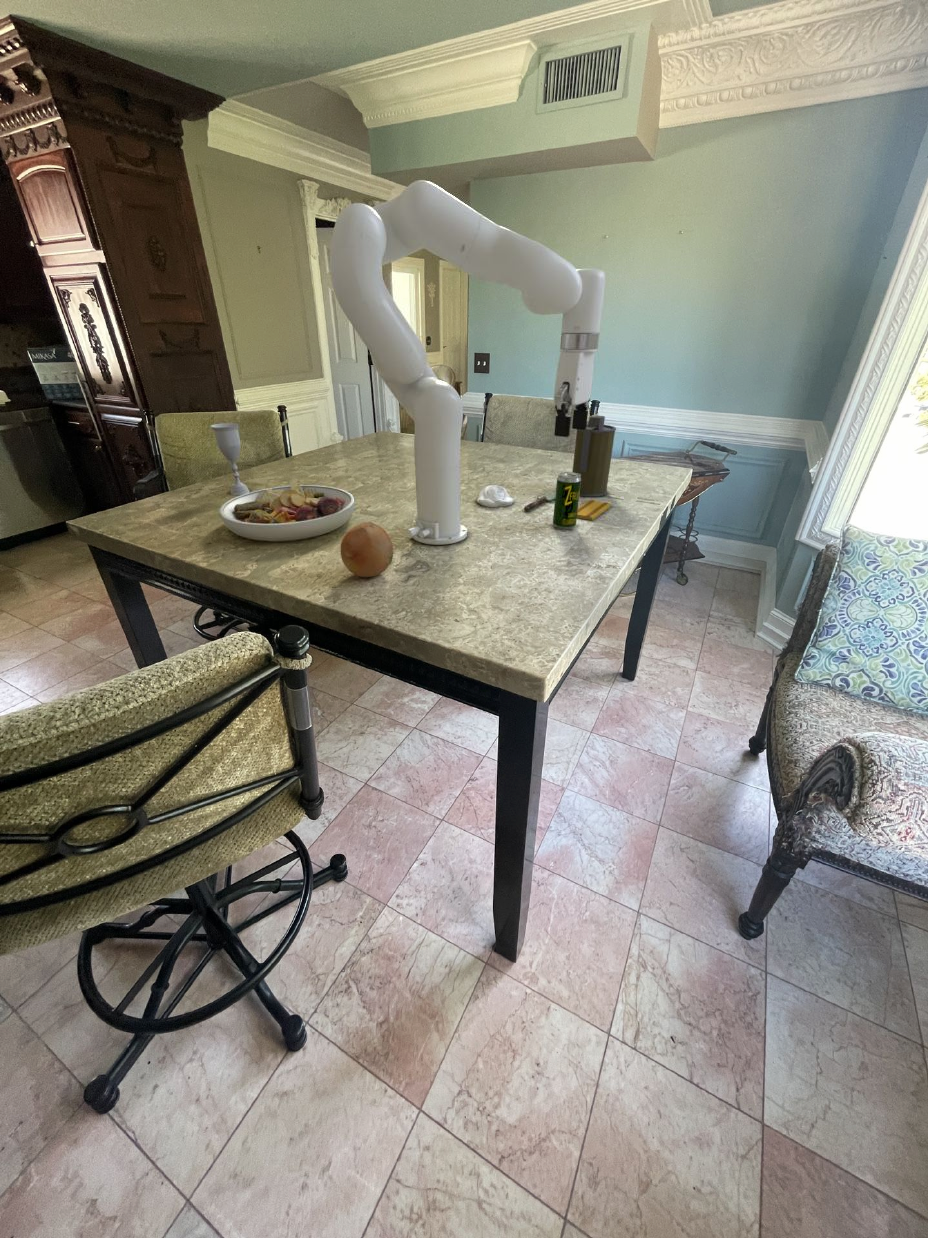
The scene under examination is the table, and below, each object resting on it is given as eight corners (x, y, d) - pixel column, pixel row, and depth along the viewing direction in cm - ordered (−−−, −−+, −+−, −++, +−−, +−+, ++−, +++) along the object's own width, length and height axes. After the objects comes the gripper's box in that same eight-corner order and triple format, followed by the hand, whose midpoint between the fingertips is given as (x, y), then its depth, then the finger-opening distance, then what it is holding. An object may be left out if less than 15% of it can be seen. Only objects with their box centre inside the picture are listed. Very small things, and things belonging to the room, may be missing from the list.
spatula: (532, 513, 126) (532, 507, 125) (518, 510, 128) (518, 505, 127) (560, 496, 138) (560, 491, 137) (546, 494, 140) (547, 489, 139)
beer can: (548, 524, 119) (552, 473, 113) (566, 520, 121) (571, 470, 115) (562, 531, 115) (567, 479, 109) (580, 527, 117) (586, 475, 111)
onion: (351, 562, 100) (345, 514, 95) (400, 564, 99) (397, 515, 94) (335, 584, 91) (328, 532, 86) (389, 586, 90) (384, 534, 85)
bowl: (195, 533, 113) (185, 499, 109) (288, 498, 137) (282, 468, 133) (298, 556, 102) (291, 519, 98) (380, 513, 126) (377, 482, 122)
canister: (578, 484, 149) (587, 412, 138) (612, 490, 143) (623, 415, 133) (562, 493, 141) (570, 417, 131) (597, 499, 136) (608, 421, 126)
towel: (592, 520, 121) (592, 516, 121) (569, 515, 124) (569, 512, 124) (610, 506, 131) (611, 503, 130) (588, 502, 133) (589, 499, 133)
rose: (487, 478, 137) (520, 483, 133) (487, 494, 140) (519, 500, 135) (470, 487, 130) (503, 493, 126) (470, 504, 132) (503, 510, 128)
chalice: (247, 496, 139) (231, 427, 130) (222, 496, 139) (205, 427, 130) (256, 488, 145) (243, 422, 136) (233, 488, 145) (218, 422, 136)
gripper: (577, 342, 109) (569, 425, 118) (544, 344, 96) (538, 437, 105) (611, 342, 105) (600, 428, 114) (581, 345, 93) (571, 441, 102)
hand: (570, 432), depth 110 cm, fingers open, 9 cm apart
